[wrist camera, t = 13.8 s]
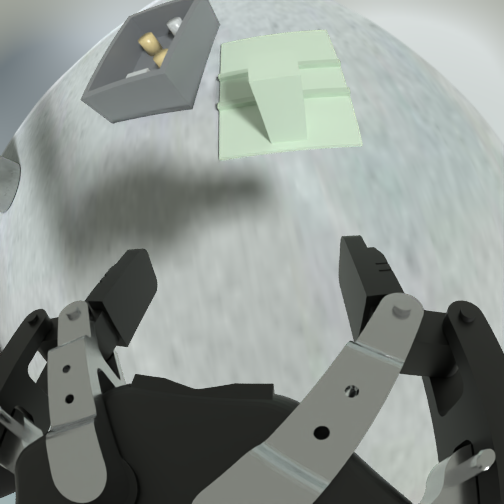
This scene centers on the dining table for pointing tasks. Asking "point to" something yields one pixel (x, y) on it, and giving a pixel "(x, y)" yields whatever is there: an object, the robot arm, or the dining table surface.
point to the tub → (154, 62)
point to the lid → (283, 96)
